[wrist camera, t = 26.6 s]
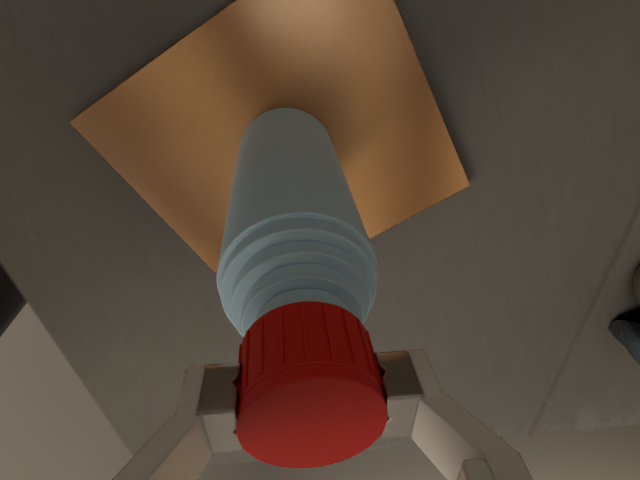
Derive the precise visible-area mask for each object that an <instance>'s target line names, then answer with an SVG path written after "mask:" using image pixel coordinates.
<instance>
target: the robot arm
mask: <svg viewBox="0 0 640 480" xmlns="http://www.w3.org/2000/svg"><path fill="white" fill-rule="evenodd" d="M374 354H375V358H376V361H377V365H378V368H379V371H380V375H381V378H382V390H383V394H384V397H385V400H386V404H387V410H388V421H387V423H386V426H385V429H384V431H383V432H382V434H381V435H382V438H397V437H411V439H412V440H413V441H414V442H415V443H416V444H417V446H418V447H419V448H420V449H421V450H422V451H423V452H424V454H425V455H426V456H427V457H428V458H429V459H430V460H431V462H432V463H433V464H434V465H435V466H436V467H437V469H438V470H439V471H440V472H441V473H442V474H443V475H444V477H445V478H446V479H447V480H533V478H532V477H531V475H530V473H529V471H528V469H527V467H526V465H525V463H524V461H523V459H522V457H521V455H520V453H518V452H517V451H516V450H515V449H514V448H513V447H511V446H510V445H509V444H507V443H506V442H505V441H504V440H503V439H502V438H500V437H499V436H498V435H497V434H495V433H494V432H493V431H492V430H491V429H489V428H488V427H487V426H486V425H484V424H483V423H482V422H481V421H480V420H478V419H477V418H476V417H475V416H473V415H472V414H471V413H470V412H469V411H467V410H466V409H465V408H464V407H462V406H461V405H460V404H459V403H458V402H456V401H455V400H454V399H453V398H451V397H450V396H449V395H443V393H442V390H441V388H440V385H439V383H438V381H437V378H436V376H435V373H434V371H433V368H432V366H431V363H430V361H429V359H428V356H427V354H426V352H425V351H424V350H423V349H419V350H407V351H406V350H402V351H390V352H378V353H374ZM240 373H241V363H229V364H207V365H192V366H188V368H187V370H186V373H185V377H184V381H183V385H182V390H181V394H180V398H179V402H178V406H177V411H176V415H175V417H170V418H169V419H168V420H167V421H166V422H165V423H164V424H163V425H162V426H161V427H160V428H159V429H158V431H157V432H156V433H155V434H154V435H153V436H152V437H151V438H150V439H149V440H148V441H147V443H146V444H145V445H144V446H143V447H142V448H141V449H140V450H139V451H138V452H137V453H136V454H135V456H134V457H133V458H132V459H131V460H130V461H129V462H128V463H127V464H126V465H125V466H124V467H123V469H122V470H121V471H120V472H119V473H118V474H117V475H116V476H115V477H114V478H113V479H112V480H197V479H198V477H199V476H200V474H201V473H202V471H203V469H204V468H205V466H206V465H207V463H208V462H209V460H210V459H211V457H212V454H217V453H226V452H234V451H243V447H242V446H241V444H240V443H239V441H238V438H237V435H236V420H237V410H238V397H239V395H238V389H237V384H238V383H239V382H240Z"/></svg>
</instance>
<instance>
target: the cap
mask: <svg viewBox="0 0 640 480" xmlns="http://www.w3.org/2000/svg"><path fill="white" fill-rule="evenodd" d="M238 363H241V373H240V382H239V383H238V384H237V389H238V395H239V397H238V410H237V420H236V435H237V438H238V441H239V443H240V444H241V446H242V447H243V449H244V450H245V451H246V452H247V453H249V454H250V455H251V456H253V457H255V458H256V459H258V460H260V461H262V462H265V463H268V464H271V465H275V466H280V467H287V468H312V467H319V466H325V465H330V464H334V463H337V462H341V461H343V460H346V459H348V458H351V457H353V456H355V455H357V454H359V453H360V452H362V451H364V450H365V449H367V448H368V447H369V446H371V445H372V444H373V443H374V442H375V441H376V440H377V439H378V438H379V437H380V435H381V434H382V432H383V431H384V429H385V426H386V423H387V421H388V410H387V404H386V400H385V397H384V394H383V390H382V378H381V375H380V371H379V368H378V365H377V361H376V358H375V354H374V351H373V347H372V344H371V340H370V337H369V333H368V331H366V330H365V328H364V326H363V325H362V323H361V322H360V320H359V319H358V318H357V317H356V316H355V315H353V314H352V313H351V312H349V311H348V310H346V309H344V308H342V307H340V306H337V305H334V304H330V303H325V302H318V301H303V302H295V303H290V304H286V305H283V306H280V307H277V308H275V309H273V310H271V311H269V312H267V313H266V314H264V315H262V316H261V317H260V318H259V319H257V320H256V321H255V322H254V323H253V324H252V325H251V327H250V328H249V329H248V330H247V331H246V334H245V336H244V338H243V341H242V345H241V344H240V347H239V361H238Z"/></svg>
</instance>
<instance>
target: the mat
mask: <svg viewBox="0 0 640 480" xmlns="http://www.w3.org/2000/svg"><path fill="white" fill-rule="evenodd" d="M277 108H294V109H299V110H302V111H304V112H307V113H309V114H310V115H312V116H314V117H315V118H316V119H317V120H318V121H319V122H320V123H321V124H322V125H323V126H324V128H325V129H326V130H327V132H328V134H329V137H330V139H331V142H332V144H333V147H334V149H335V152H336V155H337V157H338V160H339V162H340V165H341V168H342V170H343V173H344V175H345V178H346V181H347V183H348V186H349V188H350V191H351V194H352V196H353V199H354V201H355V204H356V206H357V209H358V212H359V214H360V217H361V219H362V222H363V225H364V227H365V230H366V232H367V235H368V238H369V239H370V238H372V237H374V236H376V235H378V234H380V233H381V232H383V231H385V230H387V229H389V228H391V227H393V226H395V225H396V224H398V223H400V222H402V221H404V220H406V219H408V218H410V217H412V216H413V215H415V214H417V213H419V212H421V211H423V210H425V209H427V208H428V207H430V206H432V205H434V204H436V203H438V202H440V201H442V200H443V199H445V198H447V197H449V196H451V195H453V194H455V193H457V192H459V191H460V190H462V189H464V188H466V187H468V186H470V184H469V181H468V179H467V176H466V174H465V172H464V169H463V167H462V164H461V162H460V159H459V157H458V154H457V152H456V150H455V147H454V145H453V142H452V140H451V137H450V135H449V132H448V130H447V128H446V125H445V123H444V120H443V118H442V115H441V113H440V110H439V108H438V106H437V103H436V101H435V98H434V96H433V93H432V91H431V89H430V86H429V84H428V81H427V79H426V76H425V74H424V71H423V69H422V67H421V64H420V62H419V59H418V57H417V54H416V52H415V49H414V47H413V45H412V42H411V40H410V37H409V35H408V32H407V30H406V27H405V25H404V23H403V20H402V18H401V15H400V13H399V10H398V8H397V5H396V3H395V1H394V0H235V1H234V2H232V3H231V4H230V5H228V6H227V7H226V8H224V9H223V10H221V11H220V12H219V13H217V14H216V15H215V16H213V17H212V18H210V19H209V20H208V21H206V22H205V23H204V24H202V25H201V26H199V27H198V28H197V29H195V30H194V31H193V32H191V33H190V34H188V35H187V36H186V37H184V38H183V39H182V40H180V41H179V42H178V43H176V44H175V45H173V46H172V47H171V48H169V49H168V50H167V51H165V52H164V53H162V54H161V55H160V56H158V57H157V58H156V59H154V60H153V61H151V62H150V63H149V64H147V65H146V66H145V67H143V68H142V69H140V70H139V71H138V72H136V73H135V74H134V75H132V76H131V77H129V78H128V79H127V80H125V81H124V82H123V83H121V84H120V85H119V86H117V87H116V88H114V89H113V90H112V91H110V92H109V93H108V94H106V95H105V96H103V97H102V98H101V99H99V100H98V101H97V102H95V103H94V104H92V105H91V106H90V107H88V108H87V109H86V110H84V111H83V112H81V113H80V114H79V115H77V116H76V117H75V118H73V119H72V120H71V121H70V123H71V124H72V125H73V126H74V127H75V129H76V130H77V131H78V132H79V133H80V134H81V135H82V136H83V137H84V138H85V139H86V140H87V141H88V142H89V143H90V144H91V145H92V146H93V147H94V148H95V149H96V150H97V151H98V152H99V153H100V154H101V155H102V156H103V157H104V158H105V159H106V160H107V162H108V163H109V164H110V165H111V166H112V167H113V168H114V169H115V170H116V171H117V172H118V173H119V174H120V175H121V176H122V177H123V178H124V179H125V180H126V181H127V182H128V183H129V184H130V185H131V186H132V187H133V188H134V189H135V190H136V191H137V192H138V193H139V194H140V196H141V197H142V198H143V199H144V200H145V201H146V202H147V203H148V204H149V205H150V206H151V207H152V208H153V209H154V210H155V211H156V212H157V213H158V214H159V215H160V216H161V217H162V218H163V219H164V220H165V221H166V222H167V223H168V224H169V225H170V226H171V227H172V229H173V230H174V231H175V232H176V233H177V234H178V235H179V236H180V237H181V238H182V239H183V240H184V241H185V242H186V243H187V244H188V245H189V246H190V247H191V248H192V249H193V250H194V251H195V252H196V253H197V254H198V255H199V256H200V257H201V258H202V259H203V260H204V261H205V263H206V264H207V265H208V266H209V267H210V268H211V269H212V270H213V271H214V272H215V273H216V274H217V269H218V263H219V258H220V252H221V246H222V241H223V235H224V229H225V224H226V218H227V212H228V207H229V201H230V195H231V190H232V184H233V179H234V173H235V167H236V162H237V156H238V150H239V145H240V140H241V138H242V135H243V133H244V131H245V129H246V128H247V126H248V125H249V124H250V123H251V122H252V121H253V120H254V119H255V118H256V117H258V116H259V115H261V114H263V113H264V112H267V111H269V110H272V109H277Z"/></svg>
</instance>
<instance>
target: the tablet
mask: <svg viewBox="0 0 640 480" xmlns="http://www.w3.org/2000/svg"><path fill="white" fill-rule="evenodd" d="M633 289H634V294H635V299H636V301H637V303H638V305H639V306H640V265H639V266H638V267H637V269H636V271H635V274H634V278H633ZM610 332H611V333H612V334H613V336H614V337H615V339H617V340H618V341H619V342H620V343H622V344H623V345H624V346H625V347H626V349H627V350H628V351H629V353H630V354H631V355H632V357H633V358H634V359H635V360H636V362H637V363H638V364H640V324H638V323H635V322H631V321H627V320H616V321H614V322H612V323H611V325H610Z"/></svg>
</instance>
